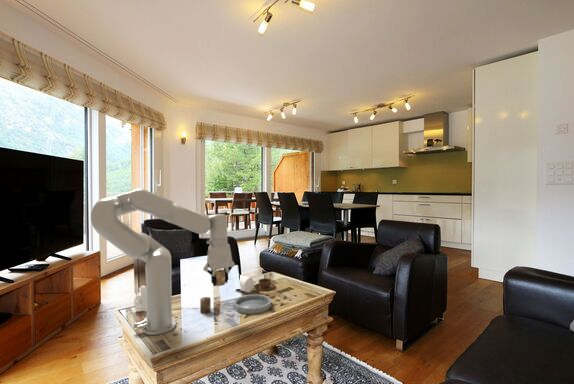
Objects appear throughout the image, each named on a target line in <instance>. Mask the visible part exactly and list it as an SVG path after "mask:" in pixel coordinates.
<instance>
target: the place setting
mask: <svg viewBox="0 0 574 384" xmlns="http://www.w3.org/2000/svg"><path fill="white" fill-rule="evenodd" d="M271 286H272V287H271ZM269 287H270V288H269ZM275 288H276V284H275V283H272V281H271V278H260V279H258V283H256V284H254V290H255V292H256V294H259V292H260V291H261V292H267V291H272V290H274V289H275ZM268 294H270V293H269V292H268Z"/></svg>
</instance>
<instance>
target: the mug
mask: <svg viewBox="0 0 574 384" xmlns="http://www.w3.org/2000/svg"><path fill="white" fill-rule="evenodd" d="M239 275H240V286H241V290H240V291H242V292H245V293H251V292H252V291H253V290H254V289H255V286H254V285H255V283H256V282H257V280H256V279H254V278H252V277H249V276H246V275H243V274H242V275H241V274H239Z"/></svg>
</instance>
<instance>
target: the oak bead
mask: <svg viewBox="0 0 574 384" xmlns="http://www.w3.org/2000/svg"><path fill="white" fill-rule="evenodd" d="M215 276H216V285H215V286H217V287H222V286H224V285H226V282H225V270H224V268H222V269H216V272H215Z"/></svg>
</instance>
